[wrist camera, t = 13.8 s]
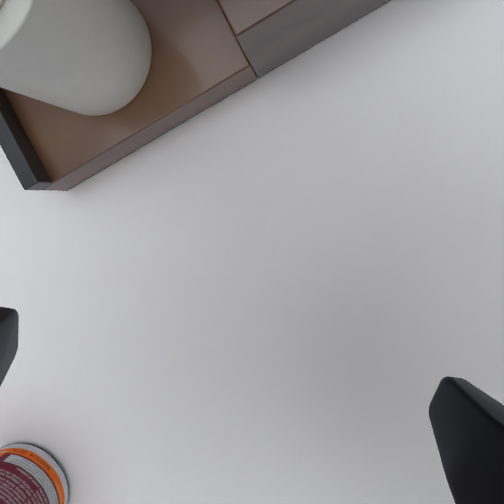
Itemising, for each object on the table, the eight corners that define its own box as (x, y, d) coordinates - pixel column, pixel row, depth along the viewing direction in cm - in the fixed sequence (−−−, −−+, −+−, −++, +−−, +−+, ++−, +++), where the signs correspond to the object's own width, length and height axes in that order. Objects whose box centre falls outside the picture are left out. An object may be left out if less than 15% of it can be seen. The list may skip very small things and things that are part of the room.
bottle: (173, 21, 17) (0, -179, 8) (120, 137, 18) (-90, 78, 9) (66, -35, 17) (-217, -290, 8) (19, 81, 18) (-283, -32, 9)
